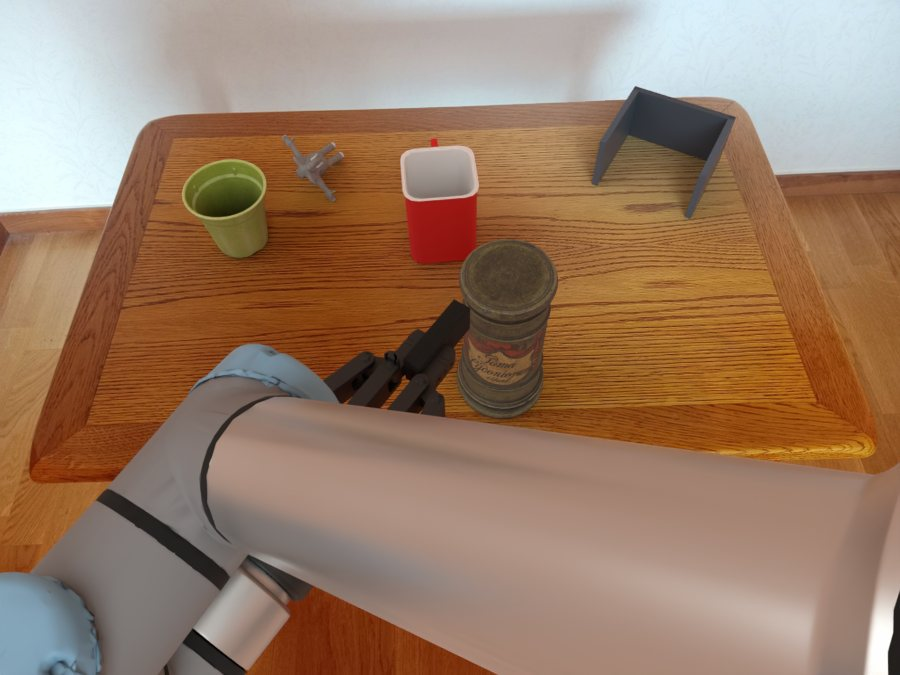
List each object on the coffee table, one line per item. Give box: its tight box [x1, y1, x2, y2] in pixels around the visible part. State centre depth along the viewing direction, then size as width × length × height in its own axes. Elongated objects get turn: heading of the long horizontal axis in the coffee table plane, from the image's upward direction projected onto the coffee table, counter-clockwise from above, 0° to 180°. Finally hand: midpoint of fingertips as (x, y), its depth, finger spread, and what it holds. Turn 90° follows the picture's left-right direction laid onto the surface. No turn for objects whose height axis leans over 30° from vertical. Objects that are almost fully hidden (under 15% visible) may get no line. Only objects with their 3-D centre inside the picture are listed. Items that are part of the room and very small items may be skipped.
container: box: [456, 238, 559, 420], centre depth 67 cm, size 9×9×18 cm
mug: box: [399, 137, 480, 265], centre depth 82 cm, size 12×8×11 cm
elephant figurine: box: [281, 133, 345, 203], centre depth 90 cm, size 10×6×9 cm
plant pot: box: [181, 158, 269, 259], centre depth 83 cm, size 9×9×9 cm
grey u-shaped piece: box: [591, 85, 737, 219], centre depth 89 cm, size 12×13×7 cm
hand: (461, 314), depth 55 cm, fingers closed
